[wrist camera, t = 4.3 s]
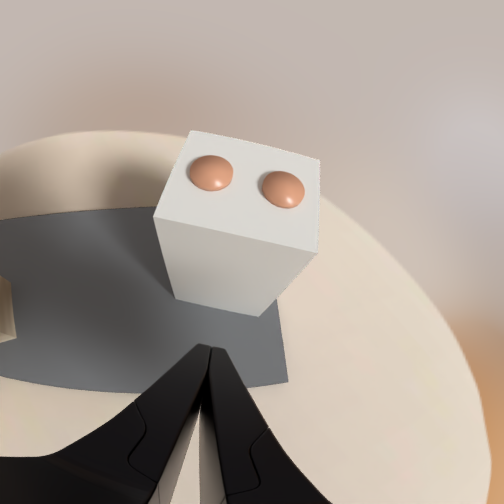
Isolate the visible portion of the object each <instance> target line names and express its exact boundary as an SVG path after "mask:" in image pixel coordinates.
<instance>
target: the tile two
mask: <svg viewBox="0 0 504 504" xmlns="http://www.w3.org/2000/svg"><path fill="white" fill-rule="evenodd" d="M319 208H320V160H317V159H314V158H311V157H307V156H304V155H300V154H297V153H293V152H289V151H286V150H282V149H278V148H274V147H270V146H266V145H262V144H257V143H254V142H249V141H245V140H240V139H235V138H231V137H226V136H221V135H215V134H210V133H205V132H199V131H193V130H191V131H190V133H189V135H188V137H187V139H186V141H185V144H184V146H183V148H182V150H181V152H180V154H179V156H178V158H177V161H176V163H175V165H174V167H173V170H172V172H171V174H170V176H169V179H168V181H167V183H166V186H165V188H164V190H163V193H162V195H161V198H160V200H159V203H158V205H157V208H156V210H155V213H154V215H153V219H154V223H155V227H156V231H157V235H158V239H159V243H160V247H161V250H162V254H163V258H164V261H165V265H166V269H167V272H168V276H169V279H170V282H171V286H172V289H173V292H174V296H175V299H178V300H182V301H186V302H190V303H195V304H199V305H203V306H208V307H213V308H217V309H222V310H227V311H231V312H236V313H241V314H246V315H252V316H257V317H259V316H260V315H261V314H262V313H263V312H264V311H265V310H266V309H267V308H268V307H269V306H270V305H271V304H272V302H273V301H274V300H275V299H276V298H277V297H278V296H279V295H280V294H281V293H282V292H283V291H284V290H285V289H286V288H287V287H288V285H289V284H290V283H291V282H292V281H293V280H294V279H295V278H296V277H297V276H298V275H299V274H300V272H301V271H302V270H303V269H304V268H305V267H306V266H307V265H308V264H309V263H310V261H311V260H312V259H313V258H314V257H315V256H316V255H317V254H318V237H319Z"/></svg>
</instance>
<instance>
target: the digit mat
mask: <svg viewBox="0 0 504 504" xmlns="http://www.w3.org/2000/svg"><path fill="white" fill-rule="evenodd" d="M156 208H157V207H138V208H120V209H105V210H92V211H79V212H68V213H57V214H47V215H38V216H29V217H21V218H13V219H5V220H0V276H2V277H3V278H5V279H6V280H8V281H9V282H11V293H12V305H13V315H14V323H15V330H16V336H17V338H15V339H12V340H8V341H5V342H1V343H0V376H3V377H7V378H11V379H16V380H20V381H25V382H30V383H36V384H42V385H48V386H54V387H61V388H69V389H78V390H88V391H100V392H115V393H143V392H144V391H145V390H147V389H148V388H149V387H150V386H151V385H152V384H153V383H154V382H156V381H157V380H158V379H159V378H160V377H161V376H162V375H163V374H165V373H166V372H167V371H168V370H169V369H170V368H171V367H172V366H173V365H174V364H176V363H177V362H178V361H179V360H180V359H181V358H182V357H183V356H184V355H185V354H187V353H188V352H189V351H190V350H191V349H192V348H193V347H194V346H195V345H196V344H198V343H201V344H206V345H210V346H211V348H212V347H213V346H216V347H221V348H225V349H226V351H227V353H228V355H229V356H230V358H231V360H232V362H233V364H234V366H235V368H236V370H237V371H238V373H239V375H240V377H241V379H242V381H243V383H244V384H245V386H246V388H251V387H259V386H266V385H273V384H279V383H285V382H288V375H287V368H286V361H285V353H284V346H283V339H282V333H281V326H280V319H279V312H278V305H277V299H275V300H274V301H273V302H272V304H271V305H270V306H269V307H268V308H267V309H266V310H265V311H264V312H263V313H262V314H261V315H260V316H259V317H257V316H252V315H246V314H241V313H236V312H231V311H227V310H222V309H217V308H213V307H208V306H203V305H199V304H195V303H190V302H186V301H182V300H178V299H175V296H174V292H173V289H172V286H171V282H170V279H169V276H168V272H167V269H166V265H165V261H164V258H163V254H162V250H161V247H160V243H159V239H158V235H157V231H156V227H155V223H154V219H153V215H154V213H155V210H156Z"/></svg>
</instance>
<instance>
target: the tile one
mask: <svg viewBox="0 0 504 504" xmlns="http://www.w3.org/2000/svg"><path fill="white" fill-rule="evenodd" d="M15 338H17V336H16V330H15V323H14V315H13V305H12V293H11V282H9V281H8V280H6V279H5V278H3V277H2V276H0V343H1V342H5V341H8V340H12V339H15Z"/></svg>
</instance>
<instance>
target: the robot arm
mask: <svg viewBox="0 0 504 504" xmlns="http://www.w3.org/2000/svg"><path fill="white" fill-rule="evenodd" d="M200 406H201V407H200ZM199 411H200V419H199V475H200V504H332V503H331V502H330V501H328V500H327V499H326V498H325V497H324V496H323V495H322V494H321V493H320V492H319V491H318V489H317V488H316V487H315V486H314V485H313V484H312V483H311V482H310V481H309V480H308V479H307V477H306V476H305V475H304V474H303V473H302V472H301V471H300V470H299V468H298V467H297V466H296V465H295V464H294V462H293V461H292V460H291V459H290V457H289V456H288V455H287V454H286V452H285V451H284V450H283V448H282V447H281V445H280V444H279V442H278V441H277V439H276V438H275V436H274V434H273V433H272V431H271V429H270V428H268V427H269V426H268V424H267V423H266V421H265V419H264V418H263V416H262V414H261V413H260V411H259V409H258V407H257V406H256V404H255V402H254V400H253V399H252V397H251V395H250V393H249V392H248V390H247V388H246V386H245V384H244V383H243V381H242V379H241V377H240V375H239V373H238V371H237V370H236V368H235V366H234V364H233V362H232V360H231V358H230V356H229V355H228V353H227V351H226V349H225V348H221V347H216V346H213V347H212V348H211V346H210V345H206V344H201V343H198V344H196V345H195V346H194V347H193V348H192V349H191V350H190V351H189V352H188V353H187V354H185V355H184V356H183V357H182V358H181V359H180V360H179V361H178V362H177V363H176V364H174V365H173V366H172V367H171V368H170V369H169V370H168V371H167V372H166V373H165V374H163V375H162V376H161V377H160V378H159V379H158V380H157V381H156V382H154V383H153V384H152V385H151V386H150V387H149V388H148V389H147V390H145V391H144V392H143V393H142V394H141V395H140V396H139V397H138V398H136V399H135V400H134V402H132V403H131V404H129V405H128V406H127V407H126V408H125V409H124V410H122V411H121V412H120V413H119V414H117V415H116V416H115V417H114V418H112V419H111V420H109V421H108V422H106V423H105V424H103V425H102V426H100V427H99V428H97V429H96V430H94V431H92V432H91V433H89V434H87V435H86V436H84V437H82V438H81V439H79V440H77V441H76V442H74V443H72V444H70V445H69V446H67V447H65V448H63V449H62V450H60V451H58V452H55V453H53V454H49V455H46V456H40V457H0V504H170V502H171V499H172V496H173V492H174V489H175V486H176V483H177V480H178V477H179V474H180V471H181V468H182V465H183V461H184V458H185V455H186V452H187V449H188V446H189V443H190V440H191V437H192V434H193V431H194V427H195V424H196V421H197V418H198V415H199Z"/></svg>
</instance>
